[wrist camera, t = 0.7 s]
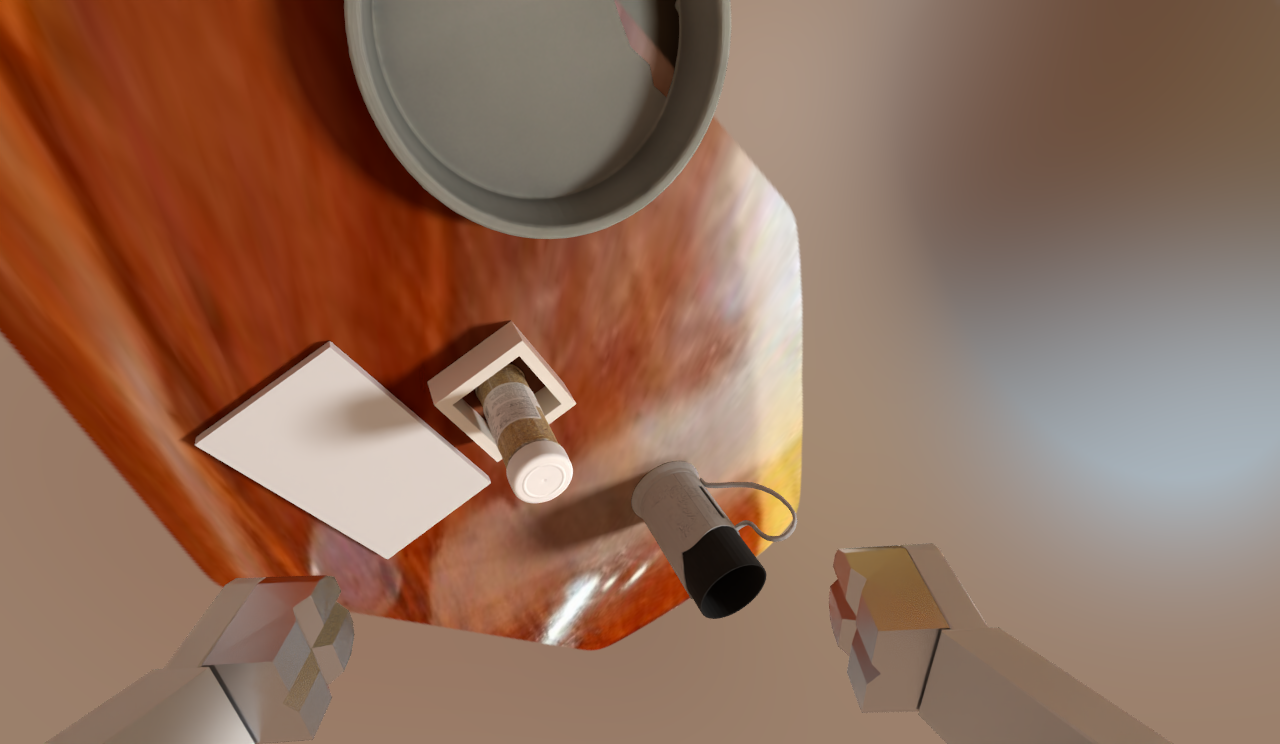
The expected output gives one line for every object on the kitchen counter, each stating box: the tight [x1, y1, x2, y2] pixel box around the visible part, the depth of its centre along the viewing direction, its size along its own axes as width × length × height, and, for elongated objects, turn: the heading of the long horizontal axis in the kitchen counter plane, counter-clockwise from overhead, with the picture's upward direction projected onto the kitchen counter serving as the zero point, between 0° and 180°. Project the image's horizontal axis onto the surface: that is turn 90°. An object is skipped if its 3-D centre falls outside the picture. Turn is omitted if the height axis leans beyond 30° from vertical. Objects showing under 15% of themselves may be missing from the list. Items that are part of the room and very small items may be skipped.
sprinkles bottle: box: [475, 363, 573, 503], centre depth 49 cm, size 5×5×13 cm
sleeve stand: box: [427, 321, 576, 462], centre depth 52 cm, size 9×9×4 cm
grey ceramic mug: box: [631, 461, 797, 619], centre depth 65 cm, size 9×14×15 cm, turn 118°
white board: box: [195, 341, 491, 559], centre depth 51 cm, size 20×12×1 cm, turn 28°
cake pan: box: [344, 0, 731, 239], centre depth 40 cm, size 25×25×4 cm
